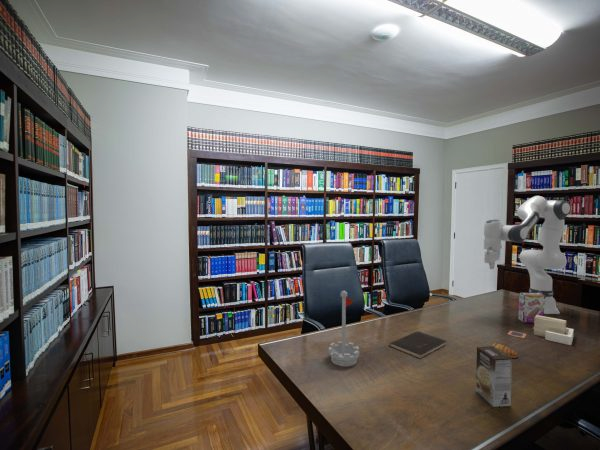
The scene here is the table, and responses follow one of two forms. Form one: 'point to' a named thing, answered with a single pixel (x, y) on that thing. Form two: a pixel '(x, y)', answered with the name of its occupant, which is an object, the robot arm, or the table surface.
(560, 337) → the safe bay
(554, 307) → the robot arm
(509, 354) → the pastry
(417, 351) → the hardcover book
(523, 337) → the plate
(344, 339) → the flag stand
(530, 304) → the candy bar box
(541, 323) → the maple block
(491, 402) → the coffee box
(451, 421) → the table surface
